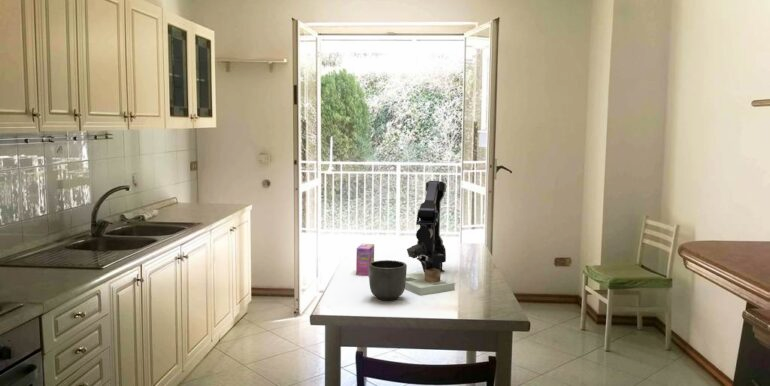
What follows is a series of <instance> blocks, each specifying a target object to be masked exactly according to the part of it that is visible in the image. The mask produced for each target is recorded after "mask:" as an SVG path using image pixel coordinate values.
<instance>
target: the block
mask: <svg viewBox="0 0 770 386" xmlns="http://www.w3.org/2000/svg"><path fill="white" fill-rule="evenodd" d="M440 280H441V272H440V270H438V269H435V268H431V269H425V281H427V282H430V283H433V282H440Z"/></svg>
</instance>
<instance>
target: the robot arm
mask: <svg viewBox="0 0 770 386" xmlns="http://www.w3.org/2000/svg"><path fill="white" fill-rule="evenodd" d="M425 192H426V194H425V199H424V202H422V203H421V204H420V207H419V208H418V209H417V216H416V222H415V225H417V226H419V228H418V230H416V233H415V237H416V240H417V242H416V244H415V245H414V244H413V245H412V246H410V247H408V248H407V249H406V251H407V255H408V257H409V258H412V259H416V260H417V261H419V262H420V264H421V266H422V269H423V273H424V274H425V269H431V268H435V269H438V270H440V273H442V272H443V273H444V272H445V269H443V263H446V262H447V260H446V259H447V251H446V246H445V245H444V240H443V238H442V237H441V235H440V229H441V203H442V200H443V199H444V197H445V196H446V195H445V194H446V192H447V184H446V183H445V182H444V181H441V180H429V181H426V182H425Z"/></svg>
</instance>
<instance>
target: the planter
mask: <svg viewBox="0 0 770 386" xmlns="http://www.w3.org/2000/svg"><path fill="white" fill-rule="evenodd" d="M407 267H408V266H407V263H405V262H403V261H400V260H388V259H384V260H383V259H382V260H374V262H371V263H370V264H369V276H368V281H369V289H370V292H371V294H372V295H373V296H374V297H375V298H376V300H377V301H381V302H394V301H398V299H399V298H400V297H401V296H403V293H405V292H404V291H405V290H406V289H405V284H406V274H407V271H408V270H407Z"/></svg>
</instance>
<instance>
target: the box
mask: <svg viewBox="0 0 770 386" xmlns="http://www.w3.org/2000/svg"><path fill="white" fill-rule="evenodd" d="M374 261H375V244H373V243H361V244H360V245H358V246H357V247H356V262H355V264H356V265H355V266H356V271H355V272H356V273H355V274H356V275H357V276H366V277H367V276H368V277H369V264H370V263H371V262H374ZM356 275H355V276H356Z"/></svg>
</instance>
